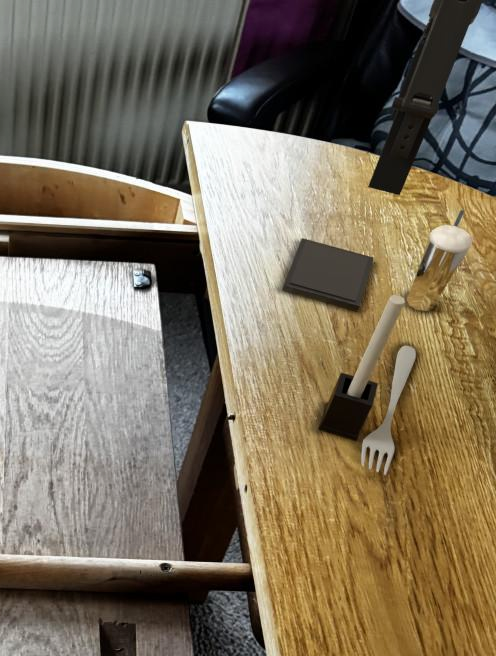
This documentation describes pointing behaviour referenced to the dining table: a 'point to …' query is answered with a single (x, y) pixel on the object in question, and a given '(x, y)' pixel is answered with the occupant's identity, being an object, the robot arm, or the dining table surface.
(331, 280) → the tablet
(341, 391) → the pen stand
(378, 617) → the dining table surface
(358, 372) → the stylus
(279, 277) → the dining table surface
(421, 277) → the milkshake
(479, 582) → the dining table surface
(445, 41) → the robot arm
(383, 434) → the fork
